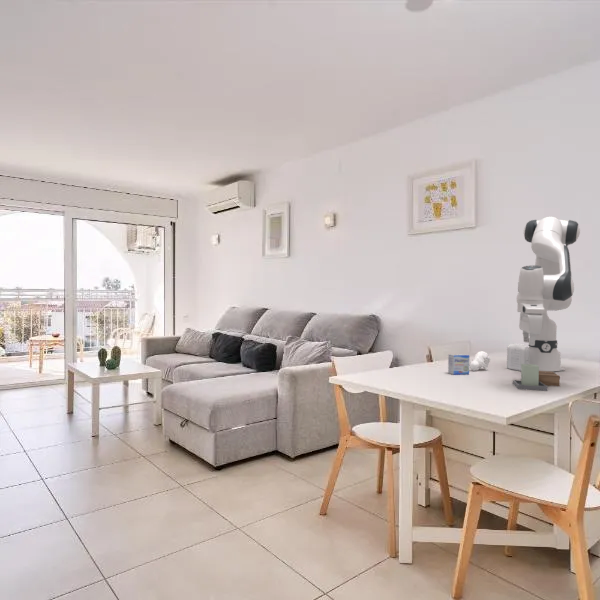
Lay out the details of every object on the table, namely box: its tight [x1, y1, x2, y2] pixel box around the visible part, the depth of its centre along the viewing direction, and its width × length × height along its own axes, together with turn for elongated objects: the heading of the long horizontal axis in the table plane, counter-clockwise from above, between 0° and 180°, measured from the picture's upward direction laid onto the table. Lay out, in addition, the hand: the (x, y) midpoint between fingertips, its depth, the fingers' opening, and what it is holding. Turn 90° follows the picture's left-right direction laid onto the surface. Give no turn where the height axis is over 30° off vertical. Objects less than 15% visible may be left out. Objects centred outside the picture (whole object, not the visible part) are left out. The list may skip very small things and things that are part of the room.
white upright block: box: [506, 343, 529, 372], centre depth 214 cm, size 10×4×12 cm, turn 28°
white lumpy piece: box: [469, 350, 491, 372], centre depth 213 cm, size 6×8×12 cm
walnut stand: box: [539, 371, 561, 387], centre depth 184 cm, size 10×10×4 cm
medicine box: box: [447, 353, 470, 376], centre depth 202 cm, size 8×4×9 cm, turn 101°
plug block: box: [520, 364, 539, 386], centre depth 175 cm, size 5×5×8 cm
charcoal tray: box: [512, 379, 549, 392], centre depth 175 cm, size 10×10×2 cm
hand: (528, 343), depth 175 cm, fingers open, 8 cm apart
